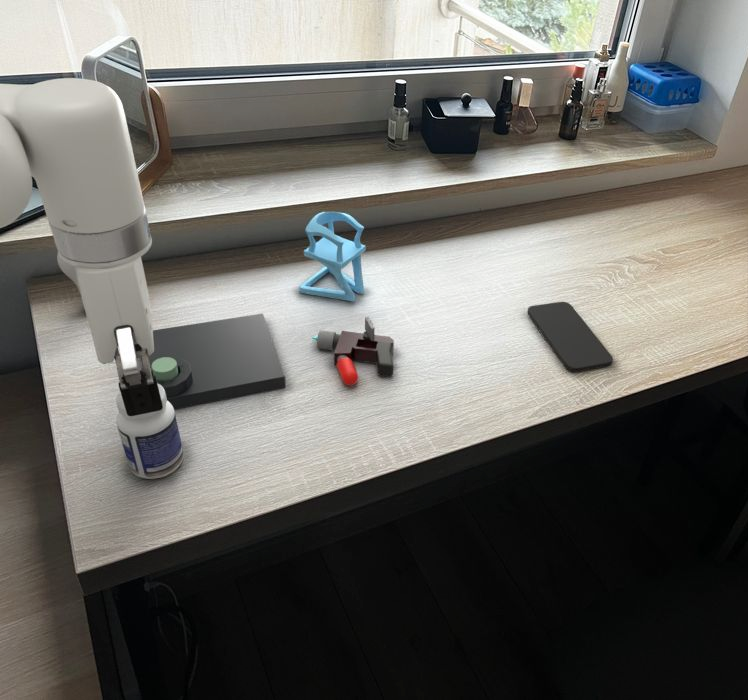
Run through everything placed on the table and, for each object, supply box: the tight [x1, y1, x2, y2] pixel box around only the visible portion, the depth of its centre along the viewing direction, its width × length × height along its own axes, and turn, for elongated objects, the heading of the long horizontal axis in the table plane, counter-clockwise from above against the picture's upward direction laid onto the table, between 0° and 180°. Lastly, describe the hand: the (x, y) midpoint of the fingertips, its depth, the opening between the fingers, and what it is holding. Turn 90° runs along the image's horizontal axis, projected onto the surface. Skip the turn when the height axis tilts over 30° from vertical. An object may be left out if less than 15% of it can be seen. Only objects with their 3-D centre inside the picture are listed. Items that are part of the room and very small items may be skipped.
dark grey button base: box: [141, 313, 287, 410], centre depth 92 cm, size 16×14×4 cm
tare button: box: [152, 357, 178, 381], centre depth 86 cm, size 3×3×2 cm
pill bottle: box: [115, 383, 184, 480], centre depth 77 cm, size 6×6×10 cm
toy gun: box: [311, 316, 395, 386], centre depth 95 cm, size 10×12×5 cm
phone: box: [526, 301, 614, 373], centre depth 106 cm, size 7×1×15 cm
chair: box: [298, 211, 367, 303], centre depth 106 cm, size 8×8×12 cm
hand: (141, 379), depth 73 cm, fingers open, 9 cm apart
